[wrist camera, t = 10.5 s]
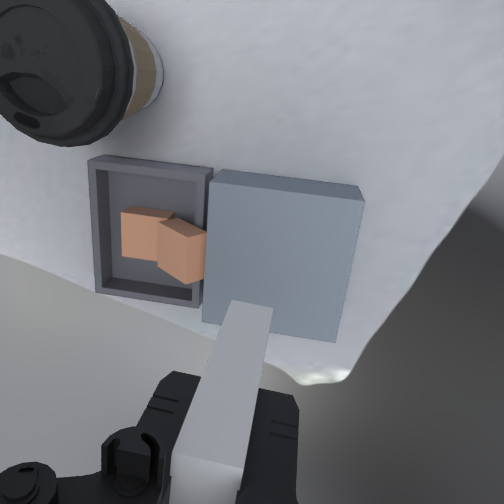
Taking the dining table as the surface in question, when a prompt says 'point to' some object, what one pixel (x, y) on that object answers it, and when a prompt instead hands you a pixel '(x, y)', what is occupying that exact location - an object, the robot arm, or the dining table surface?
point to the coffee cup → (72, 69)
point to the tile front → (181, 250)
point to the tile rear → (141, 231)
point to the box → (147, 196)
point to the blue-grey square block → (281, 250)
